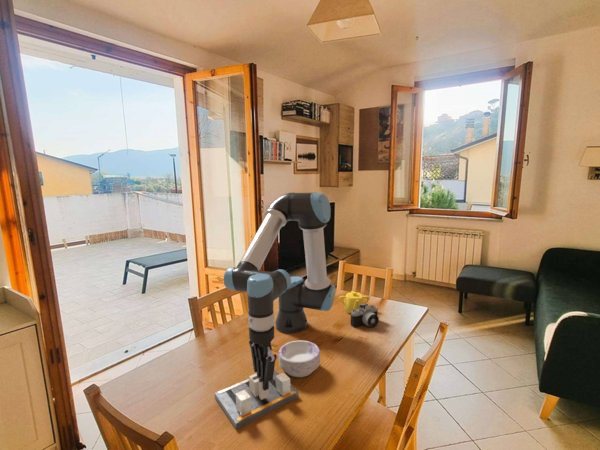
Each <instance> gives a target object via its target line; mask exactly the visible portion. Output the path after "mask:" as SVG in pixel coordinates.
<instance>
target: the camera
mask: <svg viewBox="0 0 600 450" xmlns="http://www.w3.org/2000/svg"><path fill="white" fill-rule="evenodd" d="M378 311H379V308H378V307H377V306H375V305H374V304H370V305H369V304H368V303H365V302H364V304H361V305H360V306H359V308H358V310H352V312H351V314H350V326H351V327H352V328H359V327H362V326H367V327H369V328H375V327H376V326H377V325H378V323H379V320H380V318H379V316H378Z"/></svg>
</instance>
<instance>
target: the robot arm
mask: <svg viewBox="0 0 600 450" xmlns="http://www.w3.org/2000/svg"><path fill="white" fill-rule="evenodd" d="M331 213H332V211H331V204H330V200H329V198H328V196H327V195H326V194H324V193H320V192H319V193H318V192H287V193H284V194H282V195H279V197H277V198H276V199H275V200H273V202H272V203H270V205H269V206H268V207H267V208H266V210H265V212H264V214H263V218H264V219H263V220H262V222H261V223H260V226H259V227H258V229H257V231H256V233H255V234H254V235H253V237H252V239H251V242H250V243H249V245H248V247H247V248H246V250H245V252H244V254H243V255H242V257H241V259H240V260H239V262H238V264H237V266H236V267H229V268H228V269H226V270H225V272H224V273H223V279H222V280H223V281H222V282H223V285H224V286H225V288H226V289H228V290H231V291H235V292H243V293H246V294H247V309H248V319H247V322H248V326H249V327H248V334H249V335H248V337H249V341H248V344H249V347H250V352H251V353H250V354H251V359H252V366H253V372H254V374H256V373H257V377H258V382H259V398H260V399H261V400H262V399H264V398H266V397H268V396H269V381H270V380H272V379H273V374H274V370H275V366H276V365H275V364H276V360H277V359H278V356H277V355H276V353H274V354H273V352H272V350H273V347H272V343H271V342H272V341H273V340H274V338H275V329H276V330H277V331H280V332H282V333H287V334H294V333H295V334H296V333H300V332H302V331H303V332H304V330H306V329H307V328H308V319H307V316H306V313H305V309H310V310H314V311H315V310H316V311H319V312H320V311H321V312H322V311H324V312H328V311H330V310H331V309H332V307H333V306H334V301H335V299H336V292H337V291H336V290H337V289H336V286H335V285H334V284H332V283H331V282H332V281H331V279H330V277H328V276H327V275H328V273H327V260H326V259H327V258H326V250H325V249H326V248H325V247H326V246H325V235H324V228H325V227H327V225H328V224H327V223H328V222H329V221H330V220H331ZM290 221H292V222H294V221H295V222H298V227H299V229H300V230H302V236H303V246H304V255H305V256H304V257H305V266H306V267H305V268H306V276H307V278H306V279H304V277H302V276H297V275H296V276H291V275H290V273H288V272H287V271H286V270H285V269H279V268H278V269H277V270H274V271H265V270H264V271H262V270H261V268H262V266H263V264H264V262H265V261H266V258H267V256H268V254H269V252H270V250H271V248H272V247H273V244H274V243H275V240H276V238H277V237H278V235H279V233H280V230H281V229H282V227H285V225H286V224H287V223H288V222H290ZM276 299H277V300H278V311H277V315H276V319H275V314H274V313H275V310H274V301H275V300H276ZM274 325H275V326H274Z"/></svg>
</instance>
